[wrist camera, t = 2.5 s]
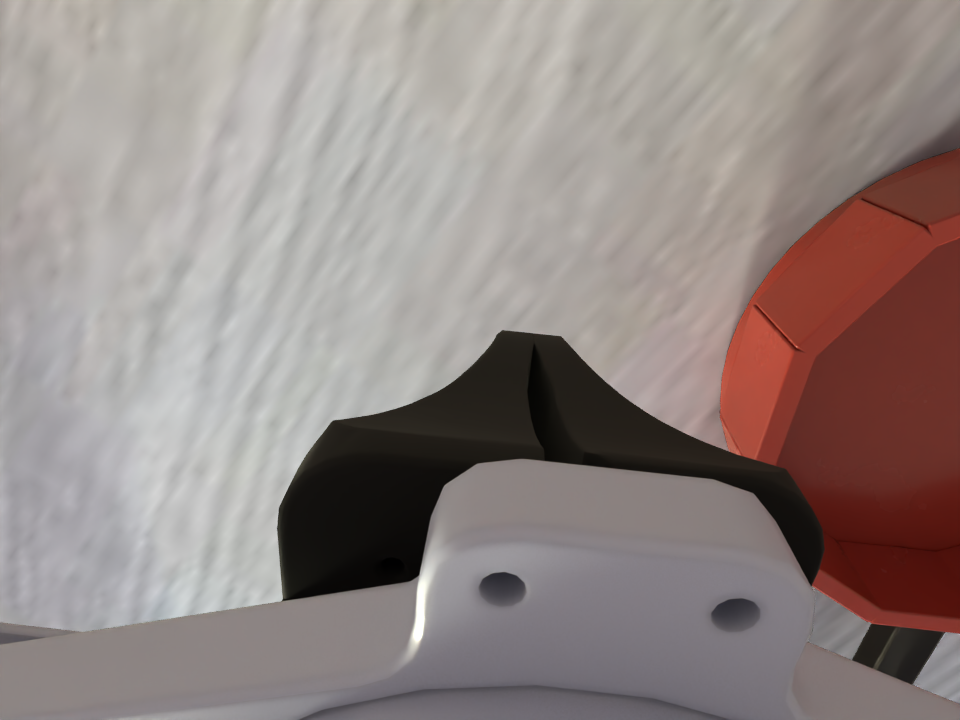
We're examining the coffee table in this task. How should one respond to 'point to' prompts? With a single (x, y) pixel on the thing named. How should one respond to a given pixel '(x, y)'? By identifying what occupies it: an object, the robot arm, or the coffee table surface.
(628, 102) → the coffee table surface
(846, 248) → the pan
